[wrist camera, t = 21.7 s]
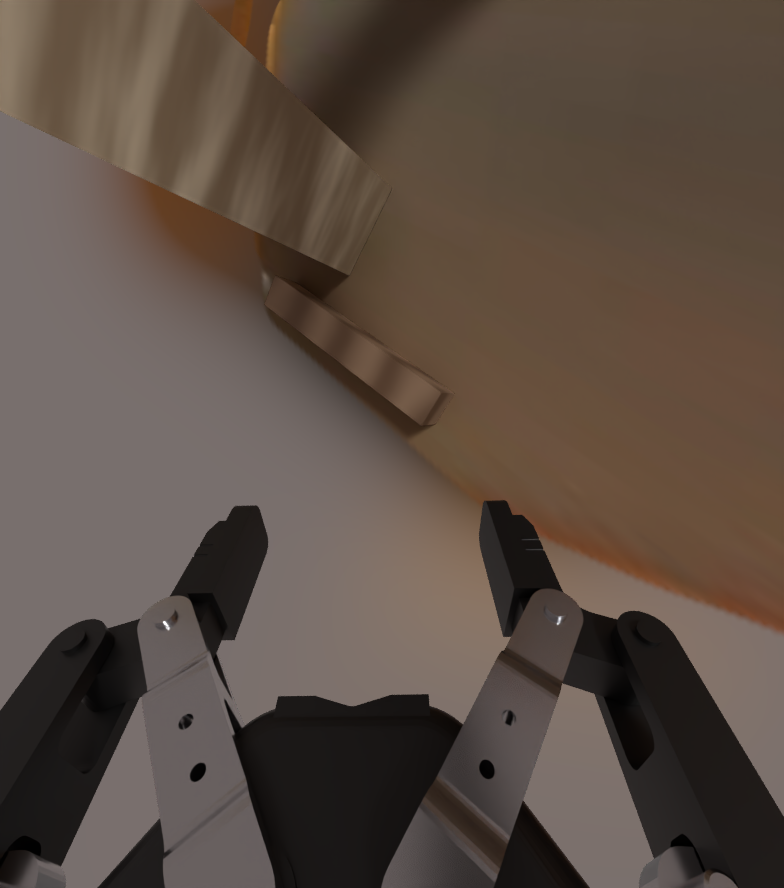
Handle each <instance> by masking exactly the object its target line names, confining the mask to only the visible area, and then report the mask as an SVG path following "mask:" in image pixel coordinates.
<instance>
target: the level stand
mask: <svg viewBox="0 0 784 888" xmlns="http://www.w3.org/2000/svg"><path fill="white" fill-rule="evenodd" d="M0 111H1V112H3V113H5V114H7V115H9V116H11V117H14V118H16V119H18V120H20V121H22V122H24V123H26V124H29V125H31V126H33V127H35V128H37V129H39V130H41V131H43V132H45V133H48V134H50V135H52V136H54V137H56V138H58V139H60V140H62V141H65V142H67V143H69V144H71V145H73V146H75V147H77V148H79V149H82V150H84V151H86V152H88V153H90V154H92V155H94V156H96V157H98V158H101V159H103V160H105V161H107V162H109V163H111V164H113V165H115V166H118V167H120V168H122V169H124V170H126V171H128V172H130V173H133V174H135V175H137V176H139V177H141V178H143V179H145V180H147V181H149V182H151V183H154V184H156V185H158V186H160V187H162V188H164V189H166V190H168V191H171V192H173V193H175V194H177V195H179V196H181V197H183V198H185V199H188V200H190V201H192V202H194V203H196V204H198V205H200V206H202V207H205V208H207V209H209V210H211V211H213V212H215V213H217V214H219V215H221V216H224V217H226V218H228V219H230V220H232V221H234V222H236V223H239V224H241V225H243V226H245V227H247V228H249V229H251V230H253V231H255V232H258V233H260V234H262V235H264V236H266V237H268V238H270V239H272V240H275V241H277V242H279V243H281V244H283V245H285V246H287V247H289V248H292V249H294V250H296V251H298V252H300V253H302V254H304V255H306V256H309V257H311V258H313V259H315V260H317V261H319V262H321V263H323V264H325V265H328V266H330V267H332V268H334V269H336V270H338V271H340V272H342V273H345V274H347V275H349V276H350V274H351V272H352V269H353V267H354V265H355V263H356V261H357V259H358V257H359V255H360V253H361V251H362V249H363V247H364V245H365V243H366V241H367V239H368V237H369V235H370V233H371V231H372V229H373V227H374V224H375V222H376V220H377V218H378V216H379V214H380V212H381V210H382V208H383V206H384V204H385V202H386V200H387V198H388V196H389V194H390V192H391V190H392V188H391V187H390V186H389V185H388V184H387V183H386V182H385V181H384V180H383V179H382V178H381V177H380V176H379V175H378V174H377V173H376V172H375V171H374V170H373V169H371V168H370V167H369V166H368V165H367V164H366V163H365V162H364V161H363V160H362V159H361V158H360V157H359V156H358V155H357V154H356V153H355V152H354V151H353V150H351V149H350V148H349V147H348V146H347V145H346V144H345V143H344V142H343V141H342V140H341V139H340V138H339V137H338V136H337V135H336V134H335V133H334V132H333V131H331V130H330V129H329V128H328V127H327V126H326V125H325V124H324V123H323V122H322V121H321V120H320V119H319V118H318V117H317V116H316V115H315V114H314V113H313V112H312V111H310V110H309V109H308V108H307V107H306V106H305V105H304V104H303V103H302V102H301V101H300V100H299V99H298V98H297V97H296V96H295V95H294V94H293V93H292V92H290V91H289V90H288V89H287V88H286V87H285V86H284V85H283V84H282V83H281V82H280V81H279V80H278V79H277V78H276V77H275V76H274V75H273V74H272V73H270V72H269V71H268V70H267V69H266V68H265V67H264V66H263V65H262V64H261V63H260V62H259V61H258V60H257V59H256V58H255V57H254V56H253V55H251V54H250V53H249V52H248V51H247V50H246V49H245V48H244V47H243V46H242V45H241V44H240V43H239V42H238V41H237V40H236V39H235V38H234V37H233V36H232V35H231V34H229V33H228V32H227V31H226V30H225V29H224V28H223V27H222V26H221V25H220V24H219V23H218V22H217V21H216V20H215V19H214V18H213V17H212V16H210V15H209V14H208V13H207V12H206V11H205V10H204V9H203V8H202V7H201V6H200V5H199V4H198V3H197V2H196V1H195V0H0Z"/></svg>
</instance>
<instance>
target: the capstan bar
mask: <svg viewBox="0 0 784 888" xmlns="http://www.w3.org/2000/svg"><path fill="white" fill-rule="evenodd" d="M264 305H265V306H267V307H268V308H269V309H271V310H272V311H273V312H274V313H276V314H277V315H278V316H280V317H281V318H282V319H283V320H285V321H286V322H287V323H289V324H290V325H291V326H293V327H294V328H295V329H296V330H298V331H299V332H300V333H302V334H303V335H304V336H306V337H307V338H308V339H309V340H311V341H312V342H313V343H315V344H316V345H317V346H318V347H320V348H321V349H322V350H324V351H325V352H326V353H328V354H329V355H330V356H331V357H333V358H334V359H335V360H337V361H338V362H339V363H340V364H342V365H343V366H344V367H346V368H347V369H348V370H350V371H351V372H352V373H353V374H355V375H356V376H357V377H359V378H360V379H361V380H362V381H364V382H365V383H366V384H368V385H369V386H370V387H372V388H373V389H374V390H375V391H377V392H378V393H379V394H381V395H382V396H383V397H384V398H386V399H387V400H388V401H390V402H391V403H392V404H394V405H395V406H396V407H397V408H399V409H400V410H401V411H403V412H404V413H405V414H406V415H408V416H409V417H410V418H412V419H413V420H414V421H416V422H417V423H418V424H419V425H421V426H424V425H432V424H436V423H437V421H438V420H439V418H440V416H441V415H442V413H443V412H444V410H445V408H446V407H447V405H448V404H449V402H450V400H451V399H452V397H453V396H454V394H455V393H453V392H452V391H450V390H449V389H448V388H446V387H445V386H443V385H442V384H440V383H439V382H438V381H436V380H435V379H433V378H432V377H430V376H429V375H428V374H426V373H425V372H423V371H422V370H420V369H419V368H418V367H416V366H415V365H413V364H412V363H410V362H409V361H407V360H406V359H405V358H403V357H402V356H400V355H399V354H397V353H396V352H395V351H393V350H392V349H390V348H389V347H387V346H386V345H385V344H383V343H382V342H380V341H379V340H377V339H376V338H375V337H373V336H372V335H370V334H369V333H367V332H366V331H365V330H363V329H362V328H360V327H359V326H357V325H356V324H355V323H353V322H352V321H350V320H349V319H347V318H346V317H344V316H343V315H342V314H340V313H339V312H337V311H336V310H334V309H333V308H332V307H330V306H329V305H327V304H326V303H324V302H323V301H322V300H320V299H319V298H317V297H316V296H314V295H313V294H312V293H310V292H309V291H307V290H306V289H304V288H303V287H302V286H300V285H299V284H297V283H295V282H293V281H290V280H287V279H285V278H282V277H279V276H277V275H275V277H274V279H273V282H272V285H271V288H270V290H269V293H268V296H267V299H266V301H265V304H264Z"/></svg>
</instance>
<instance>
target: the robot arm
mask: <svg viewBox="0 0 784 888" xmlns="http://www.w3.org/2000/svg"><path fill="white" fill-rule="evenodd" d="M479 541H480V548H481V553H482V556H483V560H484V564H485V568H486V572H487V576H488V580H489V583H490V587H491V591H492V595H493V599H494V603H495V606H496V610H497V614H498V618H499V622H500V626H501V630H502V634H503V637H511V638H510V640H509V642H508V644H507V646H506V648H505V650H504V651H501V653H500V654H499V656H498V657H497V659H496V661H495V663H494V665H493V667H492V669H491V671H490V673H489V675H488V677H487V679H486V681H485V683H484V685H483V687H482V689H481V691H480V693H479V695H478V697H477V699H476V701H475V703H474V705H473V707H472V709H471V711H470V712H469V715H468V716H467V719H466V721H465V722H464V724H462V723H460V722H459V721H458V720H456V719H455V718H454V717H452V716H451V715H449V714H448V713H446V712H444V711H442V710H439V709H437V708H434V707H431V706H429V696H428V694H422V695H389V696H386V697H383V698H380V699H377V700H373V701H370V702H367V703H364V704H361V705H357V706H347V705H343V704H340V703H337V702H333V701H330V700H327V699H323V698H320V697H317V696H281V697H278V700H277V704H276V708H275V709H274V710H271V711H269V712H266V713H264V714H262V715H260V716H259V717H257V718H255V719H254V720H252V721H251V722H249V723H248V724H247V725H244V722H243V720H242V717H241V715H240V713H239V711H238V708H237V706H236V703H235V700H234V697H233V695H232V692H231V689H230V686H229V683H228V681H227V678H226V675H225V672H224V669H223V666H222V663H221V661H220V658H219V655H218V653H217V650H218V648H219V645H220V643H221V640H235V637H236V634H237V632H238V629H239V626H240V624H241V621H242V618H243V615H244V613H245V610H246V607H247V605H248V602H249V599H250V597H251V594H252V591H253V588H254V586H255V583H256V580H257V578H258V574H259V572H260V569H261V567H262V564H263V561H264V558H265V555H266V553H267V548H268V537H267V533H266V529H265V526H264V523H263V519H262V516H261V513H260V509H259V508H258V506H235V507H234V508H233V509H232V511H231V512H230V514H229V516H228V518H227V520H226V521H219V522H218V523H217V524H215V525H214V526H213V527H212V528H211V529H210V530H209V531H208V532H207V533H206V535H205V537H204V539H203V540H202V542H201V544H200V547H198V549H197V550H196V552H195V554H194V557H192V559H191V561H190V563H189V564H188V566H187V568H186V570H185V571H184V573H183V575H182V576H181V578H180V580H179V582H178V584H177V585H176V587H175V589H174V590H173V592H172V594H171V595H170V597H168V598H165V599H162V600H160V601H159V602H157V603H155V604H154V605H153V606H151V607H150V608H149V609H148V610H147V611H146V612H145V613H144V614H143V616H142V617H141V619H138V620H135V621H131V622H128V623H125V624H121V625H118V626H115V627H111V628H107V627H106V626H105V624H104V623H103V622H102V621H100V620H96V619H90V620H85V621H81V622H79V623H76V624H74V625H72V626H71V627H68V628H67V629H65V630H64V631H62V632H61V633H60V634H59V635H58V636H56V637H55V638H54V639H53V640H52V641H51V643H50V644H49V645H48V646H47V648H46V649H45V651H44V652H43V653H42V655H41V656H40V657H39V659H38V660H37V661H36V663H35V664H34V665H33V667H32V668H31V670H30V671H29V672H28V674H27V675H26V676H25V678H24V679H23V681H22V682H21V683H20V685H19V686H18V687H17V689H16V690H15V691H14V693H13V694H12V695H11V697H10V698H9V700H8V701H7V702H6V704H5V705H4V706H3V708H2V709H1V710H0V888H65V887H66V879H65V874H64V871H63V869H62V868H61V865H62V863H63V861H64V859H65V856H66V854H67V852H68V850H69V848H70V846H71V844H72V842H73V839H74V837H75V835H76V833H77V831H78V829H79V826H80V824H81V822H82V820H83V818H84V816H85V813H86V811H87V809H88V807H89V805H90V803H91V801H92V799H93V796H94V794H95V792H96V790H97V788H98V786H99V784H100V781H101V779H102V777H103V775H104V773H105V771H106V768H107V766H108V764H109V762H110V760H111V758H112V756H113V754H114V751H115V749H116V747H117V745H118V743H119V741H120V739H121V736H122V734H123V732H124V730H125V728H126V725H127V723H128V721H129V719H130V717H131V715H132V713H133V711H134V708H135V706H136V704H137V702H138V700H139V698H140V697H142V707H143V713H144V720H145V726H146V732H147V739H148V745H149V751H150V757H151V764H152V770H153V776H154V783H155V789H156V795H157V802H158V808H159V814H160V819H159V820H158V821H157V822H156V823H155V824H154V825H153V826H152V827H151V829H150V830H149V831H148V832H147V833H146V834H145V835H144V836H143V838H142V839H141V840H140V841H139V842H138V843H137V844H136V846H135V847H134V848H133V849H132V850H131V851H130V852H129V853H128V854H127V855H126V857H125V858H124V859H123V860H122V861H121V862H120V863H119V865H118V866H117V867H116V868H115V869H114V870H113V871H112V872H111V873H110V875H109V876H108V877H107V878H106V879H105V880H104V881H103V882H102V883H101V885H100V886H99V887H98V888H590V887H589V886H588V885H587V883H586V882H585V881H584V880H583V878H582V877H581V876H580V874H579V873H578V872H577V871H576V869H575V868H574V866H573V865H572V864H571V863H570V861H569V860H568V859H567V857H566V856H565V855H564V853H563V852H562V851H561V849H560V848H559V847H558V846H557V844H556V843H555V842H554V840H553V839H552V838H551V836H550V835H549V834H548V833H547V831H546V830H545V829H544V827H543V826H542V825H541V823H540V822H539V821H538V820H537V818H536V817H535V815H534V814H533V813H532V812H531V810H530V809H529V808H528V806H527V805H526V804H525V802H524V801H523V798H524V795H525V793H526V790H527V787H528V784H529V781H530V778H531V775H532V772H533V769H534V766H535V764H536V760H537V758H538V755H539V752H540V749H541V746H542V743H543V740H544V737H545V735H546V732H547V729H548V726H549V723H550V720H551V717H552V714H553V711H554V708H555V706H556V702H557V700H558V697H559V694H560V690H561V685H562V683H563V684H566V685H570V686H573V687H576V688H579V689H582V690H585V691H588V692H591V693H594V694H595V697H596V699H597V702H598V705H599V707H600V710H601V713H602V716H603V718H604V721H605V724H606V727H607V729H608V733H609V735H610V738H611V741H612V744H613V746H614V749H615V752H616V755H617V757H618V760H619V763H620V766H621V768H622V771H623V774H624V777H625V779H626V782H627V785H628V788H629V791H630V793H631V796H632V799H633V802H634V804H635V807H636V810H637V813H638V816H639V818H640V821H641V823H642V827H643V829H644V832H645V835H646V838H647V840H648V843H649V846H650V849H651V851H652V854H653V857H654V859H653V860H652V861H651V862H649V863H648V864H646V866H645V867H644V868H643V871H642V873H641V876H640V880H639V888H784V816H783V815H782V813H781V811H780V810H779V808H778V806H777V805H776V803H775V801H774V800H773V798H772V796H771V795H770V793H769V791H768V790H767V788H766V787H765V785H764V783H763V781H762V780H761V778H760V776H759V775H758V773H757V771H756V770H755V768H754V766H753V765H752V763H751V761H750V760H749V758H748V756H747V755H746V753H745V751H744V750H743V748H742V746H741V745H740V744H739V741H738V740H737V738H736V736H735V735H734V733H733V732H732V730H731V728H730V726H729V725H728V723H727V721H726V720H725V718H724V716H723V715H722V713H721V711H720V710H719V708H718V707H717V705H716V703H715V701H714V700H713V698H712V696H711V695H710V693H709V691H708V690H707V688H706V686H705V685H704V683H703V682H702V680H701V678H700V676H699V675H698V673H697V671H696V670H695V668H694V666H693V665H692V663H691V662H690V660H689V658H688V657H687V655H686V653H685V651H684V650H683V648H682V646H681V645H680V643H679V641H678V640H677V638H676V636H675V635H674V634H673V632H672V631H671V630H670V629H669V628H668V627H667V626H666V625H665V624H664V623H663V622H661V621H660V620H658V619H657V618H655V617H653V616H651V615H649V614H646V613H643V612H639V611H628V612H625V613H623V614H622V615H620V617H619V618H618V620H617V619H613V618H609V617H605V616H602V615H598V614H595V613H591V612H588V611H586V610H584V609H582V608H580V607H579V606H578V605H577V603H576V602H575V601H574V600H573V599H572V598H571V597H570V596H568V595H567V594H565V593H564V592H563V591H562V589H561V587H560V585H559V582H558V580H557V578H556V576H555V573H554V571H553V569H552V567H551V564H550V562H549V560H548V558H547V555H546V553H545V551H543V547H542V545H541V542H540V540H539V537H538V535H537V533H536V531H535V529H534V526H533V525H532V524H531V523H530V522H529V521H528V520H527V519H526V518H525V517H524V516H523V515H512V513H511V510H510V508H509V505H508V503H507V501H505V500H500V501H484V503H483V508H482V516H481V524H480V531H479Z"/></svg>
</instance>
